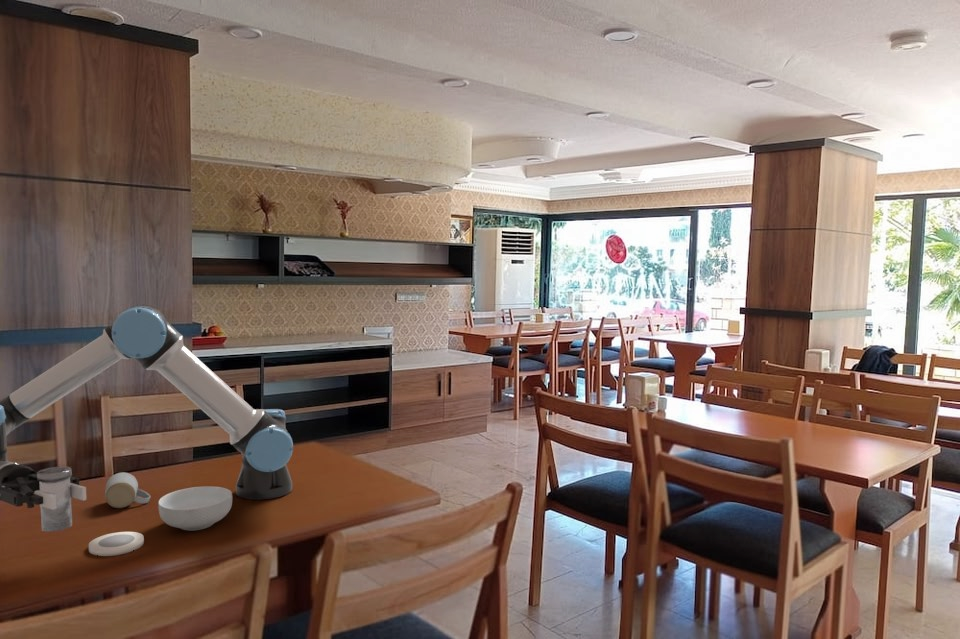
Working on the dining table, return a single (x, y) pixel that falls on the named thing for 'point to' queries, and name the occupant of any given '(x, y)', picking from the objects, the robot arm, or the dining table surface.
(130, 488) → the ceramic mug
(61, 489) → the lidded glass jar
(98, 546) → the round white coaster
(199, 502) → the cereal bowl
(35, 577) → the dining table surface
